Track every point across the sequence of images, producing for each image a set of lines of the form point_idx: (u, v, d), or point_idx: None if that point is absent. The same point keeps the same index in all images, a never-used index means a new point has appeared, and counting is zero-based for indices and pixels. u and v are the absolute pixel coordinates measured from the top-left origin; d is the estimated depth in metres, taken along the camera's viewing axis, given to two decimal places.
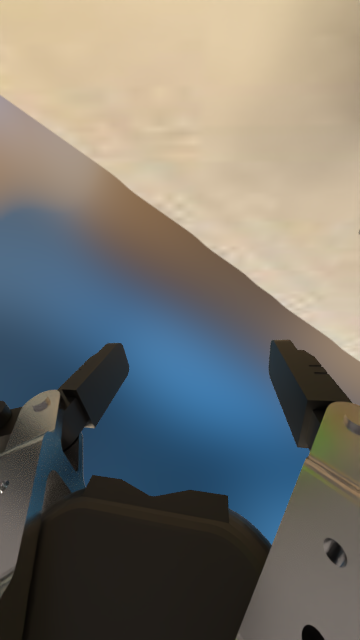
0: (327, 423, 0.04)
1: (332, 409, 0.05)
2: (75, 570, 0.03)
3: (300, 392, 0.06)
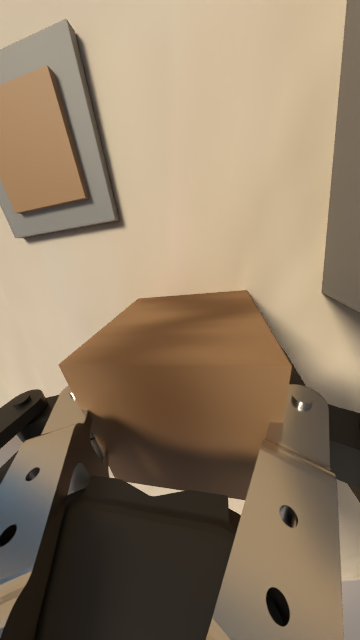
0: None
1: None
2: (75, 570, 0.03)
3: None
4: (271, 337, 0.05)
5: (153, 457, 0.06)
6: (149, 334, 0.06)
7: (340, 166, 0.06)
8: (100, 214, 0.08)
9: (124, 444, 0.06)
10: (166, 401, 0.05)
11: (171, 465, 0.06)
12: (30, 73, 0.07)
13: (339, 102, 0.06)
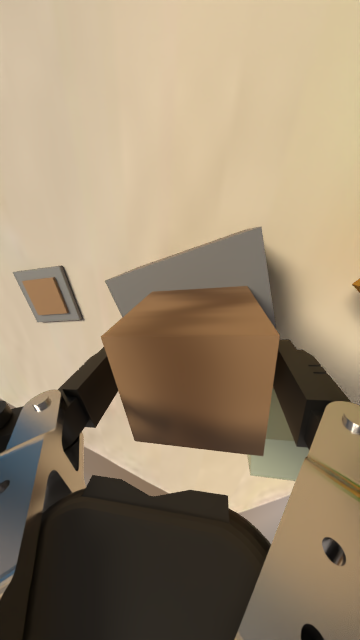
0: (326, 422, 0.04)
1: (330, 409, 0.05)
2: (75, 570, 0.03)
3: (298, 391, 0.06)
4: (266, 318, 0.06)
5: (169, 417, 0.08)
6: (169, 317, 0.08)
7: None
8: (73, 317, 0.21)
9: (146, 406, 0.08)
10: (184, 366, 0.06)
11: (183, 424, 0.08)
12: (46, 278, 0.19)
13: None
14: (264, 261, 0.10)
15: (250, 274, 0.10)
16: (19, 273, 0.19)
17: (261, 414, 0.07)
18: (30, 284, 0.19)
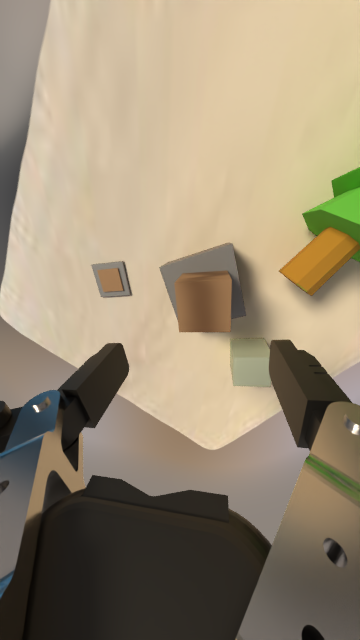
0: (327, 423, 0.04)
1: (332, 409, 0.05)
2: (75, 570, 0.03)
3: (300, 391, 0.06)
4: (229, 277, 0.19)
5: (195, 316, 0.21)
6: (195, 278, 0.20)
7: None
8: (126, 293, 0.33)
9: (186, 312, 0.21)
10: (202, 293, 0.19)
11: (200, 319, 0.21)
12: (113, 268, 0.31)
13: None
14: (234, 258, 0.23)
15: (228, 264, 0.23)
16: (95, 265, 0.32)
17: (228, 311, 0.20)
18: (102, 272, 0.32)
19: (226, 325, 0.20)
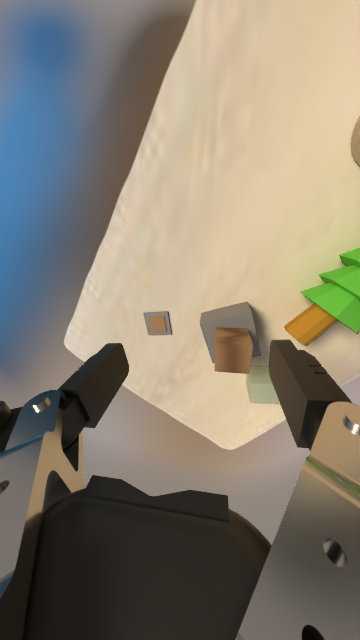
0: (327, 423, 0.04)
1: (332, 409, 0.05)
2: (75, 570, 0.03)
3: (300, 391, 0.06)
4: (251, 341, 0.30)
5: (226, 363, 0.32)
6: (228, 338, 0.31)
7: None
8: (168, 333, 0.44)
9: (221, 360, 0.32)
10: (233, 350, 0.30)
11: (230, 365, 0.32)
12: (160, 316, 0.42)
13: None
14: (253, 320, 0.34)
15: (248, 323, 0.34)
16: (146, 313, 0.43)
17: (249, 361, 0.31)
18: (151, 318, 0.43)
19: (247, 369, 0.31)
